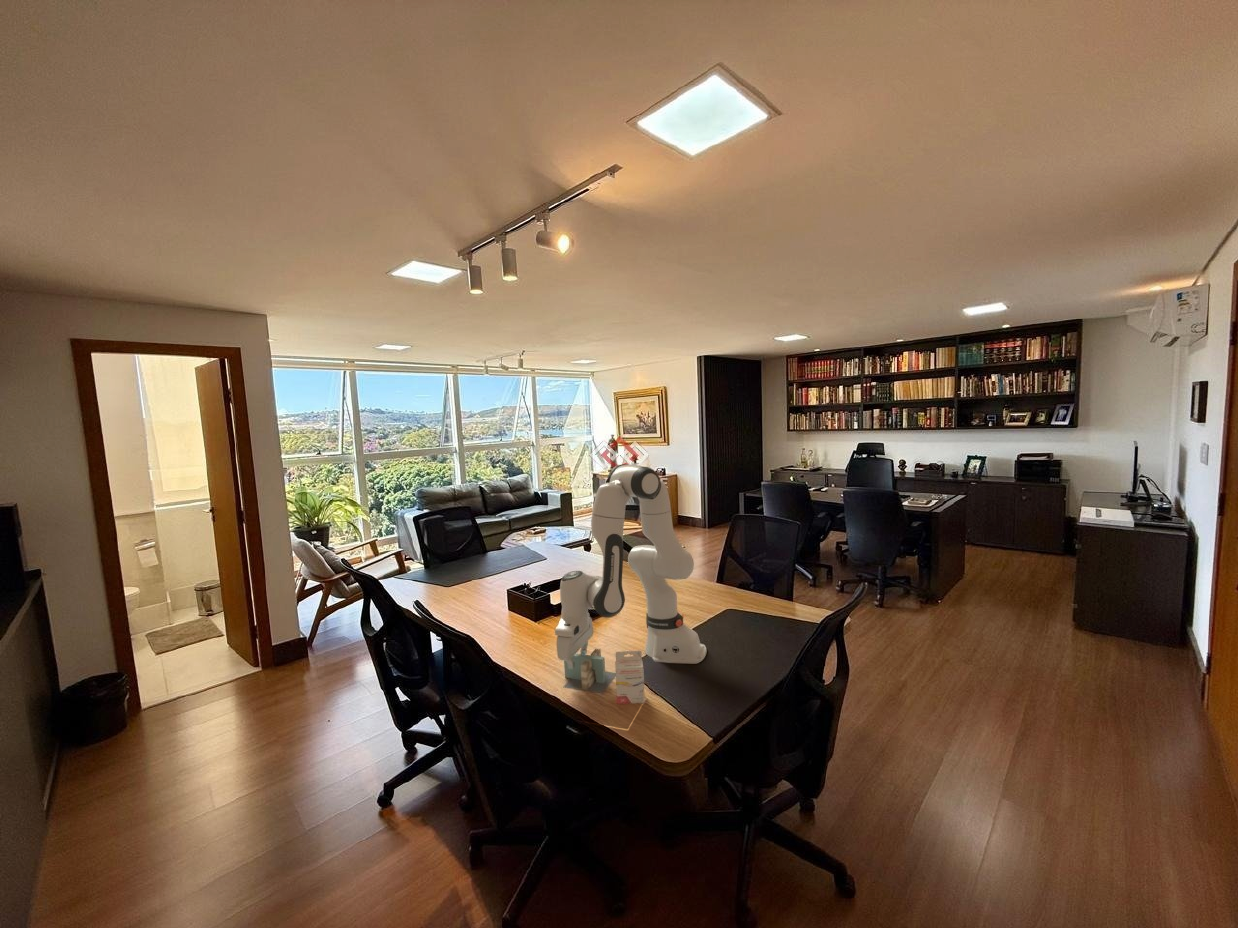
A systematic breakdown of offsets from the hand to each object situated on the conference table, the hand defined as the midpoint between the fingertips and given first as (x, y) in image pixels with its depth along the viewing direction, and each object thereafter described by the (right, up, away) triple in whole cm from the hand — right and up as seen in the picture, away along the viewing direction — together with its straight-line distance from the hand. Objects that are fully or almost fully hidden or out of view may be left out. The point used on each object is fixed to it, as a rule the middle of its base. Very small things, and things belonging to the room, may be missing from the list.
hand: (577, 660), depth 165 cm
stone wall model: (+5, -6, -1) cm, 8 cm away
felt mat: (+4, -6, -1) cm, 8 cm away
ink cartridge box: (+17, -7, -14) cm, 23 cm away
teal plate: (+2, -6, 0) cm, 6 cm away
